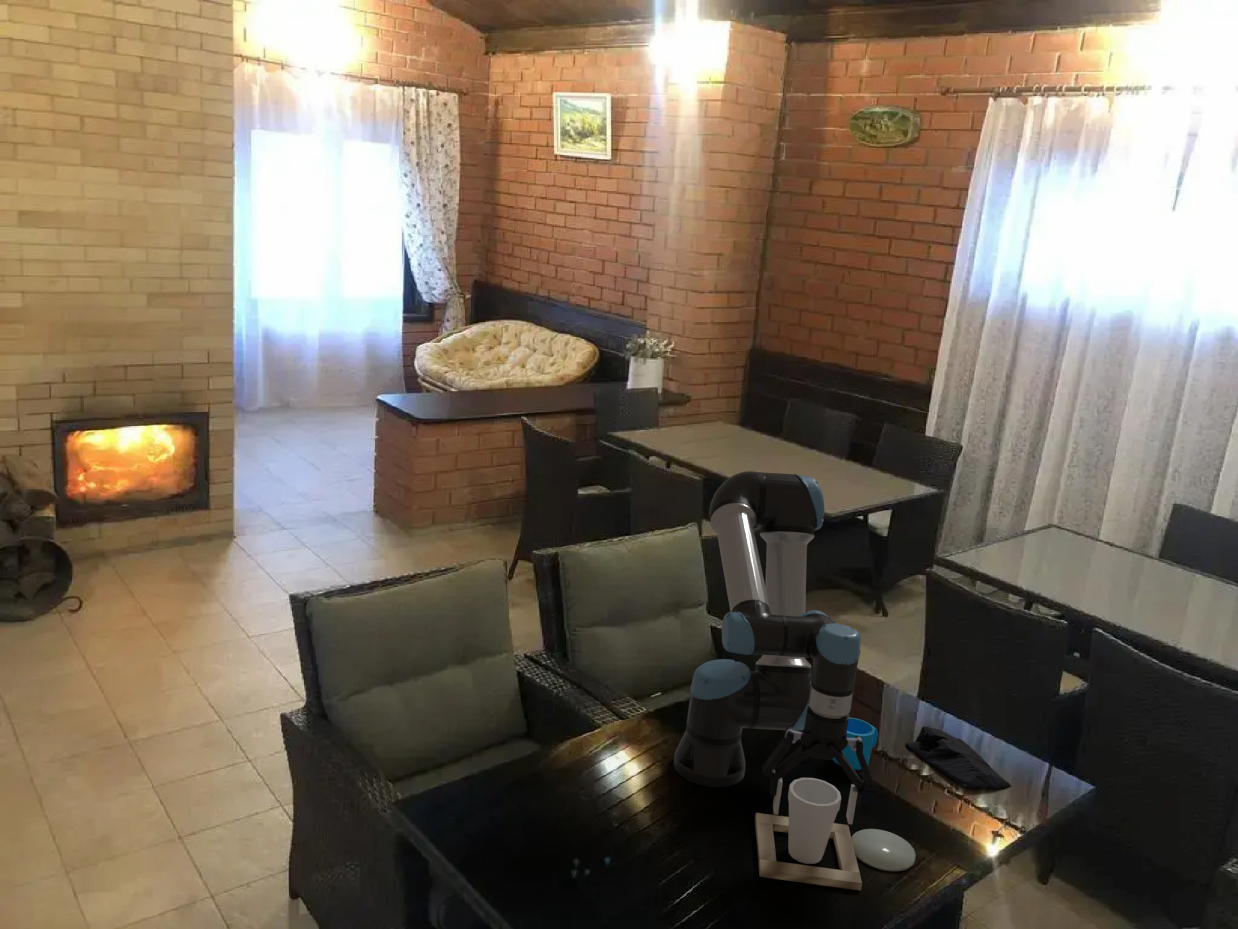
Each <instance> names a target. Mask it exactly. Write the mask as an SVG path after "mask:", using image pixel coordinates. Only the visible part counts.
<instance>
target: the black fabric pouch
mask: <svg viewBox="0 0 1238 929" xmlns="http://www.w3.org/2000/svg"><path fill="white" fill-rule="evenodd" d="M905 746H906V747H907V748H908V749H910V750H913V751H914V753H916V755H918V756H919V757H920V758H921V759H923V760H924V761H925V762H927V763H928V764H929V765H932V766H934V767H935V768H936V769H938V771H940V772H942V774H944V775H946V776H947V777H948V778H950V779H951V780H952V781H953V782H955V783H957V784H958V785H961V786H963V787H965V788H987V789H1005V788H1009V787H1011V786H1012V785H1011V783H1010V782H1009V781H1007V780H1006V779H1004V778H1003V777H1002V776H1001V775H1000V774H999V773H998V772H997V771H995V769H993V768H992V767H991V765H990V764H988V762H987V761H985V758H983V757H982V756H981V755H980V754H979V753H978V752H977V751H975V750H974V749H973V748H972V747H971V746H970V745H969V744H967V742H965V741H964V740H962V739H960V738H956V737H954V736H953V735H951V734H948V732H946V731H944V730H941V729H940V728H933V727H930V726H921V730H920V732H919V734H918V736H916V739H915V741H909V742H905Z"/></svg>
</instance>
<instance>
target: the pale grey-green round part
mask: <svg viewBox="0 0 1238 929" xmlns="http://www.w3.org/2000/svg"><path fill="white" fill-rule="evenodd" d="M851 839H852V843H853V847H854V851H855V856H856V859H859V861H861V862H863V863H864V864H866V865H868V866H870V867H873V868H874V869H878V870H882V871H886V872H887V871H888V872H901V871H907V870H908V869H910V868H911V867H913V866H914V864H915V862H916V851H915V849H914V848H913V845H911V844H910V843H909V841H907V840H906V839H904V838H903V837H901V836H899V835H897V834H895V833H894V832H893V833H892V832H889V831H886V830H883V829H879V828H878V829H876V828H865V829H861V830H859V831H856V832H855V833H853V834H852V836H851Z"/></svg>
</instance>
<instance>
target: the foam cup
mask: <svg viewBox="0 0 1238 929" xmlns="http://www.w3.org/2000/svg"><path fill="white" fill-rule="evenodd" d="M787 799H788V817H789V833H788V841H787V842H788V845H787V846H788V854H789V855H790V856H791V858H792V859H794V860H796V861H797V862H799V863H803V864H805V865H806V864H807V865H814V864H817V863H820V861H821V860H822V859H823V856H824V854H825V851H826V848H827V845H828V842H829V839H830V838H829V836H830V833H831V830H832V827H833V824H834V823H835V820H836V817H837V814H838V812H839V811H840V809H841V808H840V807H841V801H842V796H841V792H840V791H839V790H838V788H837V787H836V786H835V785H833V784H831V783H829V782H827V781H826V780H823V779H818V778H814V777H799V778H797V779H793V781H792V782H791V783H790V784H789V787H788V794H787Z"/></svg>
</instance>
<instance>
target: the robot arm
mask: <svg viewBox="0 0 1238 929" xmlns="http://www.w3.org/2000/svg"><path fill="white" fill-rule="evenodd" d="M824 499H825V498H824V494H823V490H822V487H821V486H820V484H819V482H818V481H817V480H816V479H815V478H814V477H812V476H807V475H800V474H797V473H793V474H792V473H777V472H759V471H754V470H749V471H741V472H738V473H735V474H733V475H731V476H730V477H728V478H727V479H725V481H723V482H722V483H721V485H720V486H719V487H718V488H717V489H716V491H715V493H714V494H713V497H712V499H711V502H710V506H709V516H708V517H709V523H710V527H711V529H712V531H713V532H714V533H715V534H716V535H717V541H718V548H719V552H720V559H721V564H722V569H723V576H724V581H725V586H726V593H727V594H726V595H727V600H728V604H729V610H730V611H729V612H727V613H725V615H724V617H723V620H722V625H721V642H722V646H723V649H724V650H725V651H726V652H728V653H732V654H739V655H746V656H751V655H759V656H760V655H761V657H760V658H759V659H758V660H757V661H756V662H755V671H751V670H750V668H749V667H748V666H747V665H746V664H745V663H743V662H741V661H735V660H734V659H727V658H726V659H725V658H722V659H714V660H709V661H706V662H704V663H702V664H701V665H699V666H698V667H697V668H696V669H695V670H694V672H693V675H692V680H691V684H690V688H689V691H690V692H689V693H690V695H689V703H688V710H687V718H686V729H685V732H684V733H683V736H682V737H681V739H680V741H679V744H678V745H677V747H676V749H675V752H674V757H673V767H674V770H675V771H676V773H677V774H679V776H680V777H682V778H684V779H685V780H687V781H688V782H691V783H693V784H695V785H698V786H704V787H709V788H726V787H730V786H734V785H736V784H739V783H740V782H742V780H743V779H744V776H745V773H746V759H745V755H744V749H743V745H742V744H743V743H742V732H743V729H758V730H759V729H760V730H777V731H780V730H781V731H785V732H784V736H783V738H782V739H781V741H780V742H779V743H778V744H777V746H776V747H775V749H774V750H773V751H772V753H771V754H770V755H769V757H768V758H767V759H766V761H765V762H764V763H763V765H762V774H763V776H764V777H766V778H767V777H768V778H770V783H769V794H770V796H774V797H773V802H772V811H773V815H776V816H779V810H780V805H781V804H780V803H781V796H782V788H783V777H784V776H786V774H788V773H789V772H790V771H792V770H793V769H794V768H796V767H797V766H798V765H799V764H800V763H801V762H802V761H806V760H807V759H808V758H810V757H812V758H813V759H817V760H819V759H822V760H826V761H831V760H833V758H835V759H836V760H837V762H838V763H839V764H840V765H841V766H840V765H839V766H840V767H841V769H843V771H844V772H845V774H846V775H847V777H848V778H849V780H850V781H851V784H850V791H849V797H848V803H847V810H846V814H845V817H846V821H847V823H848V824H847V825H853V822H854V816H855V810H856V807H861V805H862V801H863V796H864V794H865V793H866V790H870V791H874V790H875V788H876V786H875V782H874V780H873V777H872V774H871V772H870V768H869V765H867V762H866V760H865V757H864V754H863V742H862V739H861V737H860V736H859V735H857V736H855V738H847V737H846V734H847V728H848V721H849V718H850V715H849V714H850V712H851V708H852V703H853V702H852V701H853V695H854V694H853V693H854V690H855V689H854V688H855V683H856V682H855V681H856V677H857V671H858V664H859V659H860V656H861V642H862V637H861V636H862V635H861V634H860V632H858V630H857V629H855V628H852V627H851V626H848V625H847V624H842V623H836V622H835V621H834V620H833V619H832V618H830V616H829V615H827V614H826V613H825V612H823V611H821V610H816V609H815V610H814V609H813V610H812V609H811V610H808V611H806V598H807V588H806V587H807V558H808V557H807V555H808V553H807V551H808V550H807V549H808V544H809V543H810V542H811V541H812V540H813V539H814V538H815V531H817V530H820V529H821V528H822V527H823V525H824V524H823V523H824V517H825V500H824ZM756 526H757V527H759V536H760V537H761V538H762V539H763V540H764V541H765V543H766V554H765V556H766V557H765V558H766V562H765V579H764V574H763V568H762V563H761V559H760V554H759V550H758V544H757V538H756V536H755V530H754V527H756ZM806 658H809V659H810V661H811V662H812V664H813V666H812V665H811V663H809V662H808V660H807V659H806ZM812 667H813V669H812ZM798 740H800V741H801V744H800V745H798V747H797V749H796V750H794V751H793V752H792V753H791V754H789V755H788V756H787V757H786V758H785V759H783V757H785V755H786V754H787V753H788V751H789V750H790V749H791V746H792V744H795V743H796V742H797V741H798ZM847 745H849V746H850V747H851V749H852V750H853V751H855V752H856V755H857V758H858V761H859V764H860V766H861V769H860V770H861V772H862V773H863V774H862V775H863V777H864V779H861V778H860V776H859V775H858V773H857V772H856V770H854V769H853V767H852V766H851V764H850V763H849V761H848V760H847V758H846V757H845V756H844V754H843V752H842V751H843V750H844V749H845V748H846V747H847ZM782 759H783V761H781V760H782ZM852 783H853V784H852Z"/></svg>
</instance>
